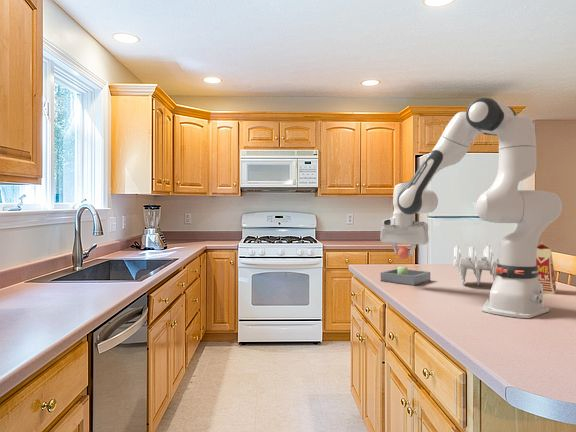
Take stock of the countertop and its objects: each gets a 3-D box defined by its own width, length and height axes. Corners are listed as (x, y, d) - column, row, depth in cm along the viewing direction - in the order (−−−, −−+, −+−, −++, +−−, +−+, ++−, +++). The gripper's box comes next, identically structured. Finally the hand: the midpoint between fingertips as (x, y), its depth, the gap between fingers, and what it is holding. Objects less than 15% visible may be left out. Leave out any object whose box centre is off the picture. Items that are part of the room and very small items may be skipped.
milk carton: (554, 294, 159) (555, 242, 158) (526, 291, 165) (527, 240, 164) (556, 290, 166) (557, 240, 166) (530, 287, 172) (530, 239, 171)
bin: (414, 285, 176) (414, 276, 176) (380, 281, 187) (380, 272, 187) (430, 280, 187) (430, 271, 187) (398, 276, 198) (398, 268, 198)
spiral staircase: (518, 299, 168) (452, 291, 177) (512, 274, 183) (452, 268, 191) (525, 261, 160) (455, 255, 168) (518, 238, 175) (455, 234, 183)
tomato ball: (406, 259, 169) (406, 247, 169) (395, 258, 172) (395, 247, 172) (411, 258, 173) (411, 247, 173) (401, 257, 176) (401, 246, 176)
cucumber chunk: (404, 280, 186) (404, 268, 186) (395, 278, 189) (395, 267, 189) (409, 278, 189) (409, 267, 189) (400, 277, 192) (400, 266, 192)
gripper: (431, 221, 168) (431, 255, 168) (385, 221, 182) (385, 252, 182) (424, 221, 163) (424, 256, 163) (378, 221, 177) (378, 253, 177)
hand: (403, 254), depth 172 cm, fingers closed on tomato ball, 5 cm apart
